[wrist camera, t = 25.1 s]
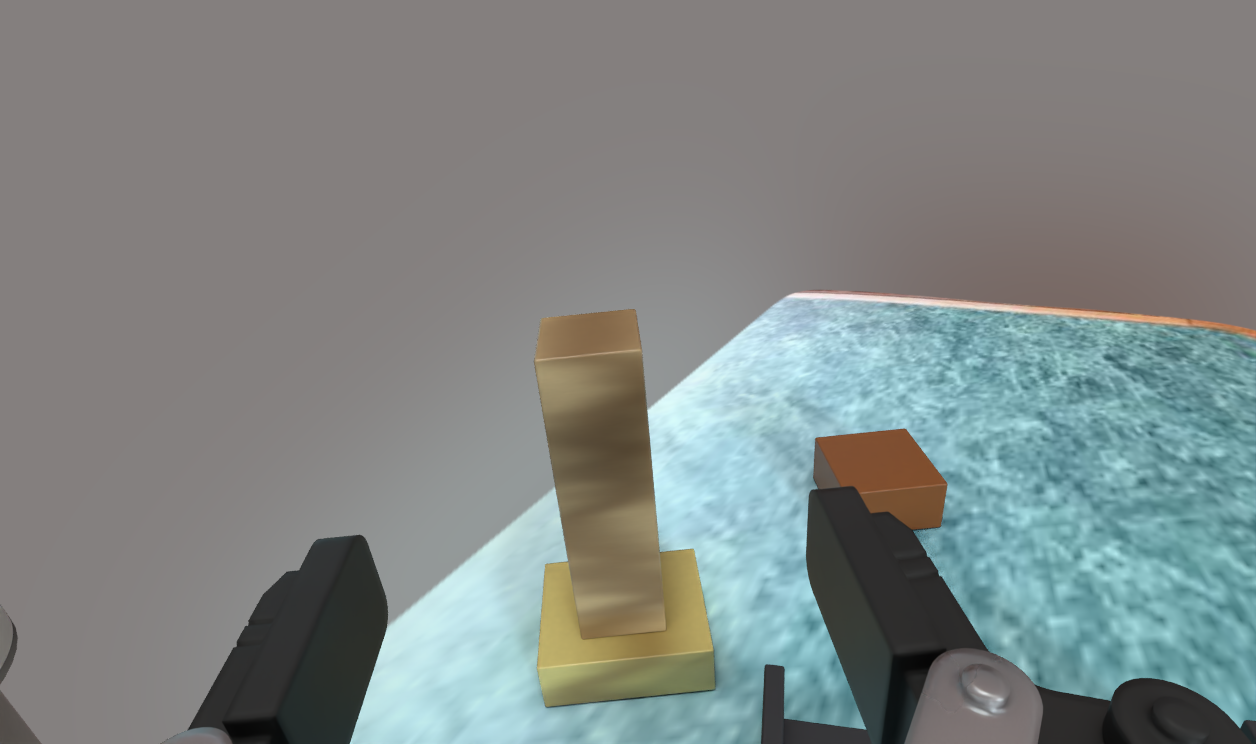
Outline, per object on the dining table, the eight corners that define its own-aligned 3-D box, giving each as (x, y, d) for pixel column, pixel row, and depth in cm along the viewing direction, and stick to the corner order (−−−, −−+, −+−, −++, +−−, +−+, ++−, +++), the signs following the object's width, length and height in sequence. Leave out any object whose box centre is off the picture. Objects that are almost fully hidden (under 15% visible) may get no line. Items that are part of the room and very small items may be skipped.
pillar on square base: (545, 707, 24) (473, 383, 18) (551, 599, 28) (496, 310, 22) (715, 689, 24) (701, 360, 18) (696, 584, 28) (679, 291, 22)
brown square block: (841, 537, 30) (845, 494, 29) (812, 477, 34) (814, 437, 33) (941, 527, 30) (948, 483, 29) (900, 468, 34) (905, 427, 33)
